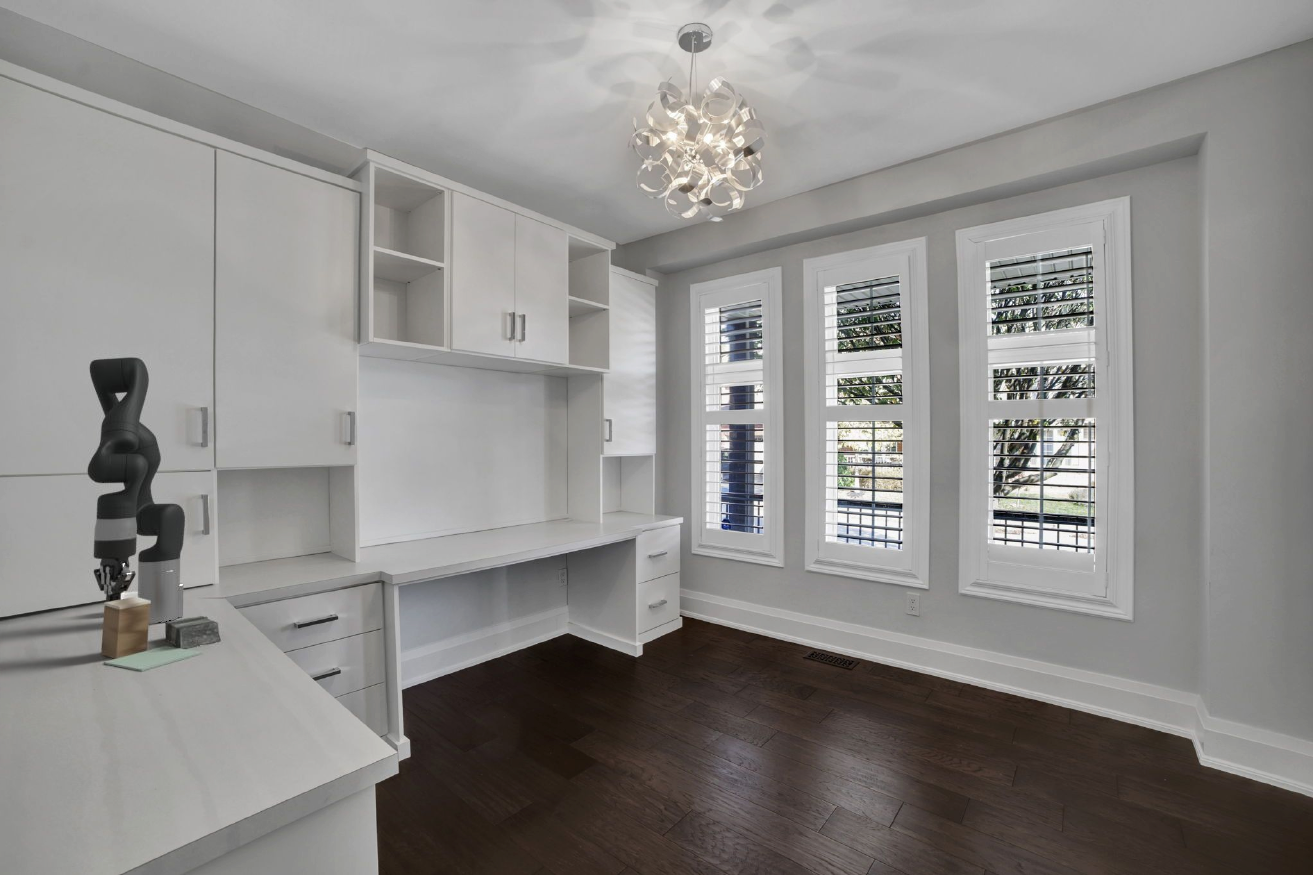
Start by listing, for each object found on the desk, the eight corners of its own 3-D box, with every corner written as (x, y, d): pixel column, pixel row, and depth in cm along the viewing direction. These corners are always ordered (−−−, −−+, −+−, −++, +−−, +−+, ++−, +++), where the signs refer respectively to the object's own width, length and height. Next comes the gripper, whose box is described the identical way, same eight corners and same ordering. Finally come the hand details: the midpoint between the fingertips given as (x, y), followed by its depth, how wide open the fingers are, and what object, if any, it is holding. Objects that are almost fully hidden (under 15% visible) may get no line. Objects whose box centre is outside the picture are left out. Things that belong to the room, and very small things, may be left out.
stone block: (207, 632, 156) (208, 612, 157) (224, 642, 147) (225, 621, 148) (164, 640, 149) (165, 619, 150) (179, 651, 140) (180, 629, 141)
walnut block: (131, 646, 143) (135, 596, 143) (147, 650, 140) (150, 600, 141) (100, 653, 137) (104, 602, 137) (116, 659, 135) (119, 606, 135)
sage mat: (165, 647, 143) (165, 645, 143) (202, 653, 138) (202, 652, 138) (103, 663, 132) (103, 661, 132) (141, 671, 126) (141, 669, 126)
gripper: (150, 536, 142) (148, 608, 141) (119, 533, 147) (116, 603, 146) (112, 540, 135) (109, 616, 134) (80, 537, 140) (77, 610, 139)
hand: (112, 609), depth 140 cm, fingers closed
